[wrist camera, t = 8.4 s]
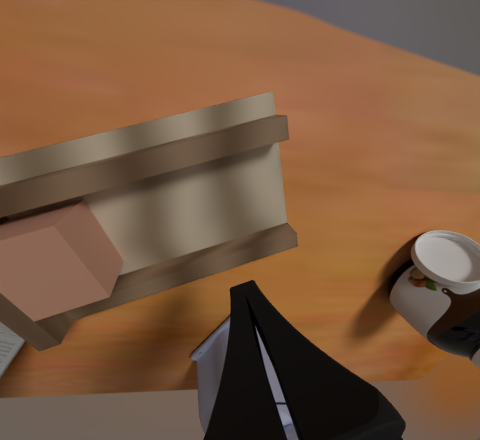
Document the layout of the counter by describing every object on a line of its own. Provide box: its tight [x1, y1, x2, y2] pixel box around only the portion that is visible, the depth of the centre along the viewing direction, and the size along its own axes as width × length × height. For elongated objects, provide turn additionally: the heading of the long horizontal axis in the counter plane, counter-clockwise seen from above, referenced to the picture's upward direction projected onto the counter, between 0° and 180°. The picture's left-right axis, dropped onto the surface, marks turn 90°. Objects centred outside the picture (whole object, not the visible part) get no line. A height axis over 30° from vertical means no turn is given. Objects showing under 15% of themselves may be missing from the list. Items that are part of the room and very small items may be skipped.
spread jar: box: [388, 230, 480, 369], centre depth 25 cm, size 12×11×12 cm
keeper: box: [0, 199, 124, 322], centre depth 14 cm, size 5×6×4 cm
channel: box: [0, 91, 298, 351], centre depth 15 cm, size 22×14×5 cm, turn 102°
